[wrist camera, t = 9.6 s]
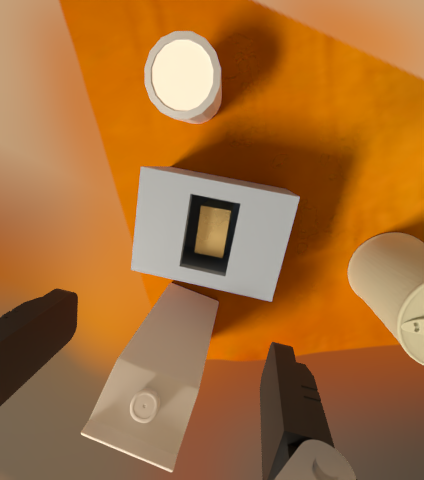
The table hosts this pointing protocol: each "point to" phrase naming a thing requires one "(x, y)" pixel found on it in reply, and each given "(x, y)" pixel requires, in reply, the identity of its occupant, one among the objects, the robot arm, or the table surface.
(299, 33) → the table surface
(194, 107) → the white cup
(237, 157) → the table surface
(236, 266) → the coin box
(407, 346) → the can
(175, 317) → the milk carton
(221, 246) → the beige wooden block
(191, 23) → the table surface
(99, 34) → the table surface
